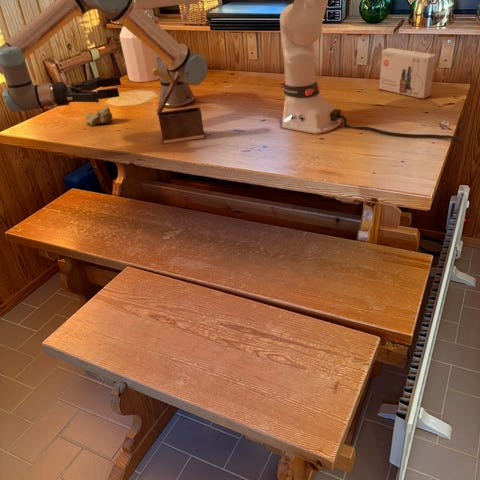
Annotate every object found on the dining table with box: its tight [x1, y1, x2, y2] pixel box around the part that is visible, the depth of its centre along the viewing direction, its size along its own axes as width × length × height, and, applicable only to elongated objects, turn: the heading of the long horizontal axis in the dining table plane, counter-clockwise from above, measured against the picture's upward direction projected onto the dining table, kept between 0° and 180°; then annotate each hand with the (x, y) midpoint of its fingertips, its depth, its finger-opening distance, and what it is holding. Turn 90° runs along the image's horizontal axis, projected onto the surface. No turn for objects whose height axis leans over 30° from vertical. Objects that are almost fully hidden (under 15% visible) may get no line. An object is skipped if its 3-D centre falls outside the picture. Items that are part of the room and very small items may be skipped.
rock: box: [85, 105, 113, 126], centre depth 189 cm, size 11×6×10 cm
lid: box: [153, 67, 180, 117], centre depth 157 cm, size 16×5×8 cm
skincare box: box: [378, 47, 437, 100], centre depth 184 cm, size 21×6×16 cm, turn 40°
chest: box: [158, 106, 206, 144], centre depth 166 cm, size 15×5×10 cm, turn 100°
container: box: [119, 25, 160, 83], centre depth 235 cm, size 21×21×28 cm
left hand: (119, 86), depth 155 cm, fingers open, 13 cm apart
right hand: (171, 21), depth 147 cm, fingers open, 8 cm apart
